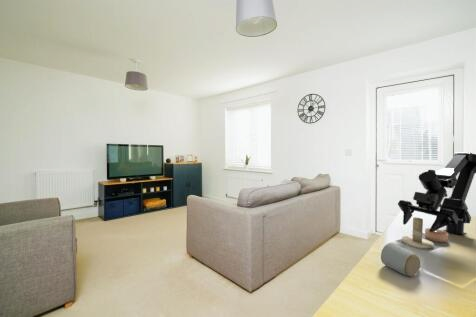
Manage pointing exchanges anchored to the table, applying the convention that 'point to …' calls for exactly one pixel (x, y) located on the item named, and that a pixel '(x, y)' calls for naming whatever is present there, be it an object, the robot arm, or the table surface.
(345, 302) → the table surface
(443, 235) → the terracotta bowl
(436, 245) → the slate mat
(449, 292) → the table surface
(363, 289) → the table surface
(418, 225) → the birch lid
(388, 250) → the ceramic mug
